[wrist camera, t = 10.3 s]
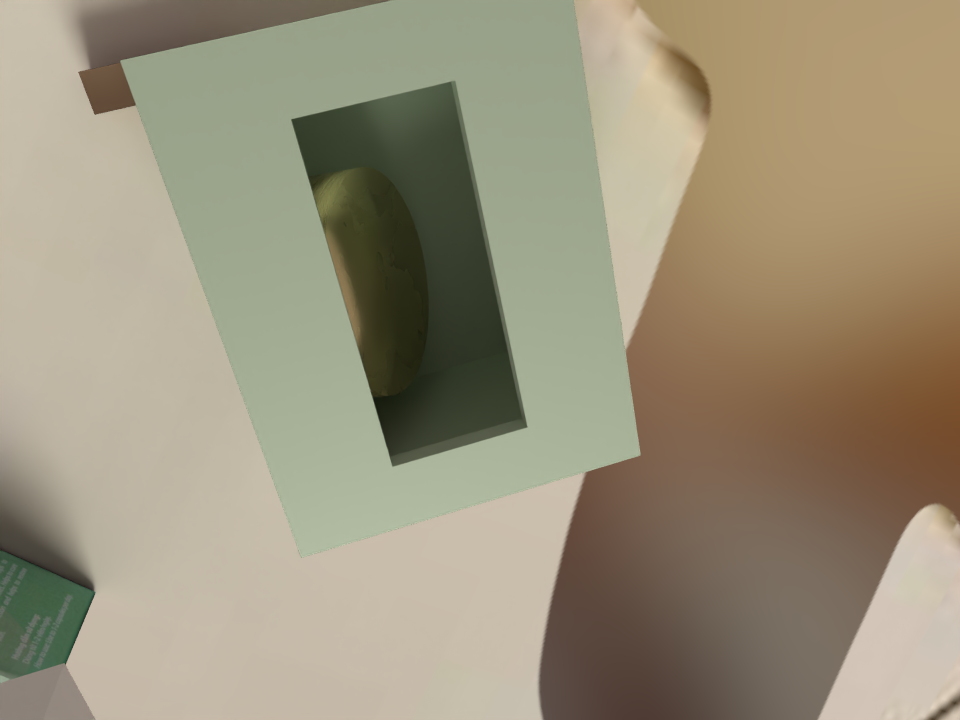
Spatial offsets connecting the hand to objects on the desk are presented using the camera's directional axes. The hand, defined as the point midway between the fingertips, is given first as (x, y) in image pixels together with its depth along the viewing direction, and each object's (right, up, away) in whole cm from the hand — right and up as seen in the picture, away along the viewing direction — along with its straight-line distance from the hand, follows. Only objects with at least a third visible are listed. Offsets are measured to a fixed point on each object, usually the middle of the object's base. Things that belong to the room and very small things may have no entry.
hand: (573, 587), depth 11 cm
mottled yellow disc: (-5, +7, +25) cm, 26 cm away
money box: (-6, +10, +26) cm, 28 cm away
